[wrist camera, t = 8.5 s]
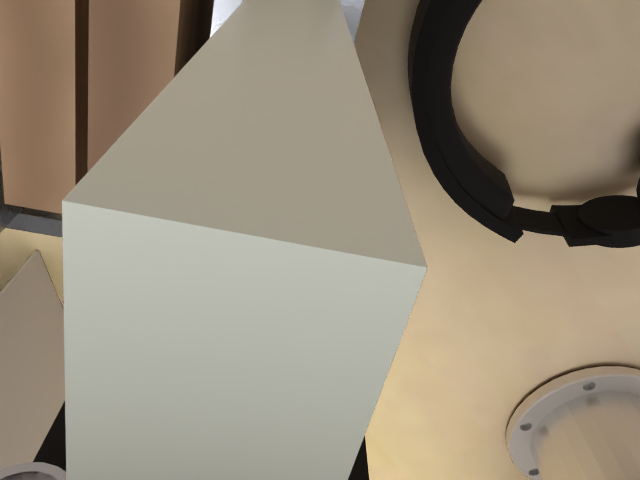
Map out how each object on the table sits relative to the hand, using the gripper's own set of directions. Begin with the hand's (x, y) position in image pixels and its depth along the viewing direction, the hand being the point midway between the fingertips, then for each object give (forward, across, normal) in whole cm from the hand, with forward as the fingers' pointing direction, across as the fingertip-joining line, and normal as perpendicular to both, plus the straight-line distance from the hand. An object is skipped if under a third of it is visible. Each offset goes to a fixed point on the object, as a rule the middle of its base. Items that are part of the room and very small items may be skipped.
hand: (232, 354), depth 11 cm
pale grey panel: (+14, 0, 0) cm, 14 cm away
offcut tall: (+21, +6, 0) cm, 22 cm away
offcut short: (+21, +10, 0) cm, 23 cm away
